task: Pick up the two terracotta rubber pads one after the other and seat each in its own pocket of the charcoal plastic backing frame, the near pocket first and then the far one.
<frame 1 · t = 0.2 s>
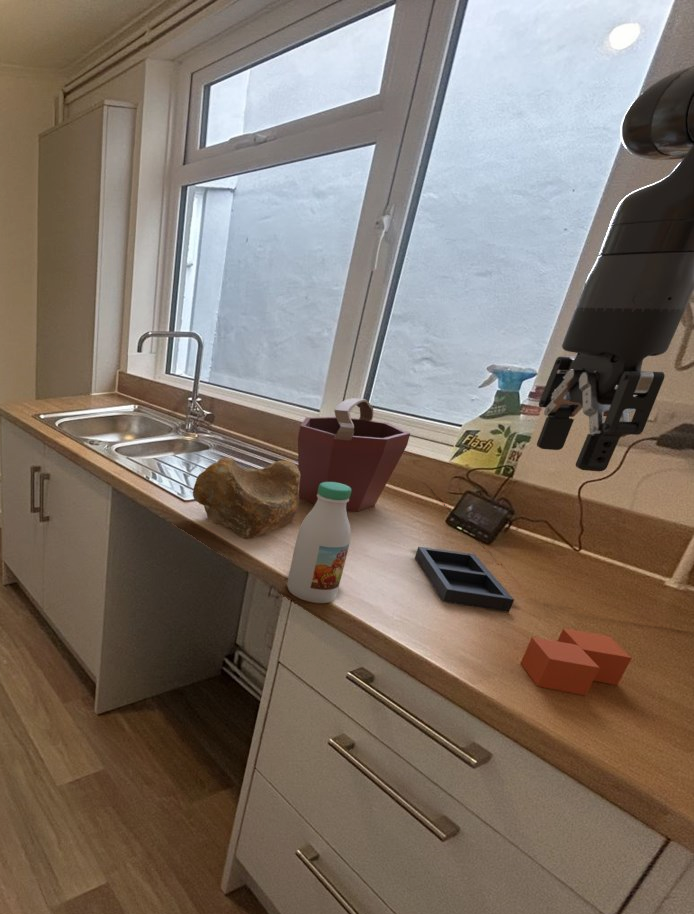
hand: (567, 458, 59), 32 cm above the worktop, tool pointing down, fingers open, 8 cm apart
rough brown rock: (247, 529, 117), on the worktop
bucket: (331, 498, 133), on the worktop
milk bottle: (310, 593, 92), on the worktop
pad a: (551, 678, 71), on the worktop
pad b: (582, 669, 73), on the worktop
backing frame: (457, 582, 95), on the worktop
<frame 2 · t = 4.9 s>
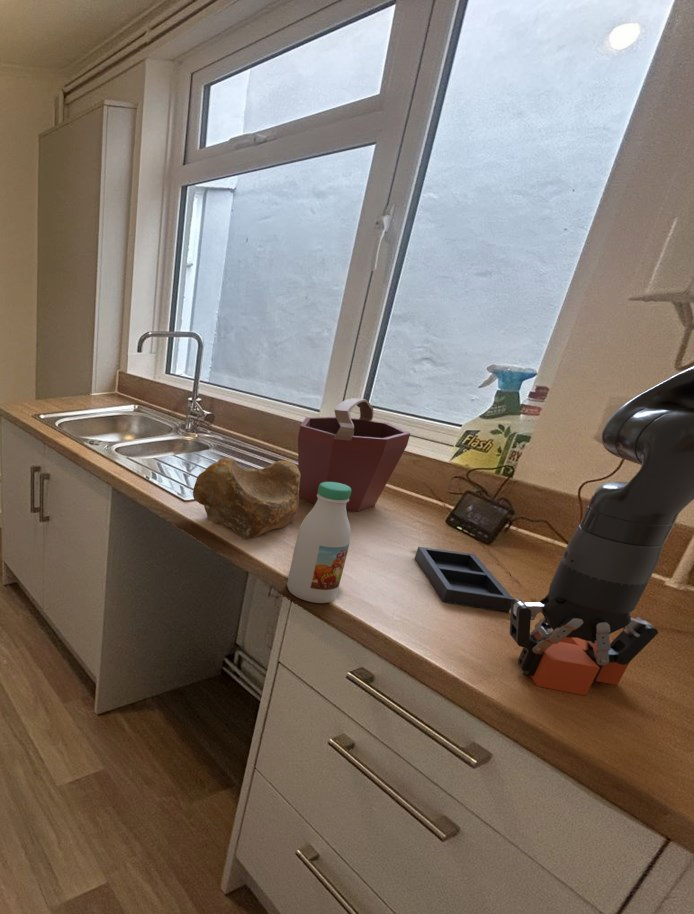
hand: (552, 676, 71), 0 cm above the worktop, tool pointing down, fingers closed on pad a, 5 cm apart
pad a: (551, 678, 71), on the worktop, touching gripper
everything else where it was.
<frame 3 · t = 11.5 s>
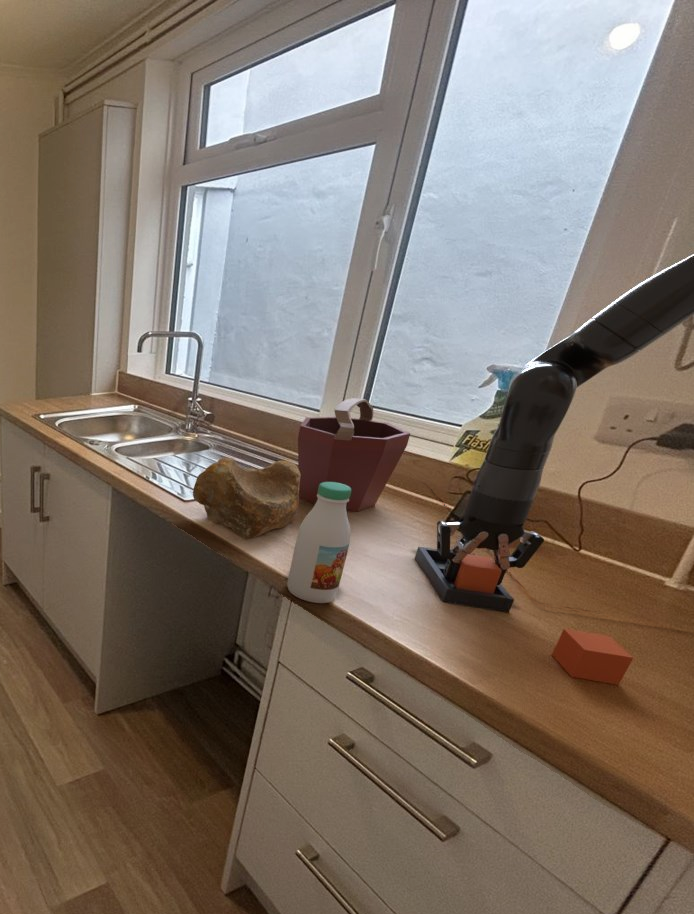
hand: (470, 582, 90), 2 cm above the worktop, tool pointing down, fingers closed on pad a, 5 cm apart
pad a: (469, 584, 91), point 2 cm above the worktop, touching gripper
everything else where it was.
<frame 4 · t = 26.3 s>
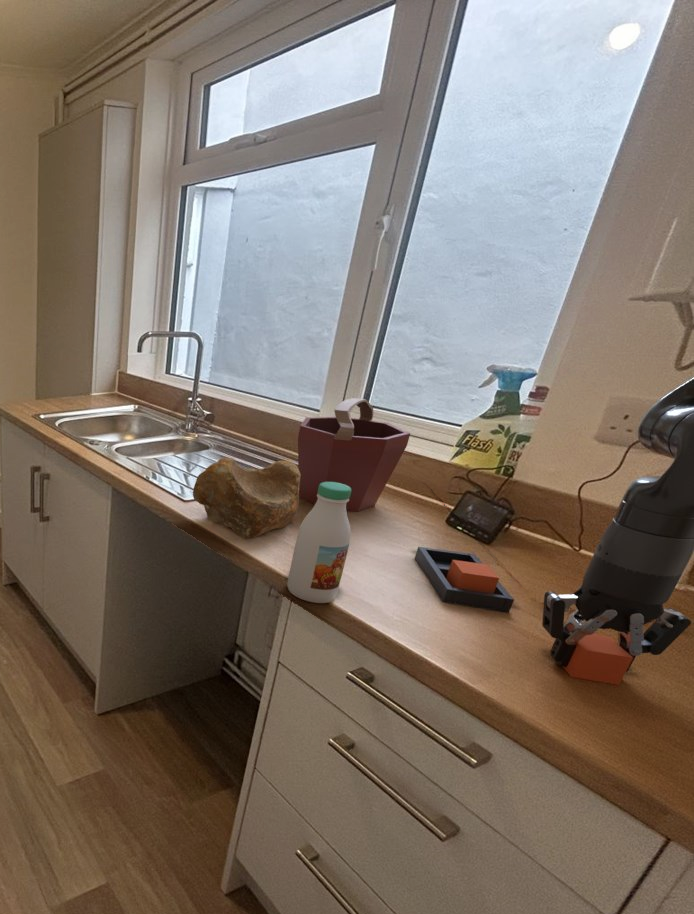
hand: (585, 667, 73), 0 cm above the worktop, tool pointing down, fingers closed on pad b, 5 cm apart
pad a: (466, 591, 91), resting on backing frame
pad b: (583, 669, 73), on the worktop, touching gripper
everything else where it was.
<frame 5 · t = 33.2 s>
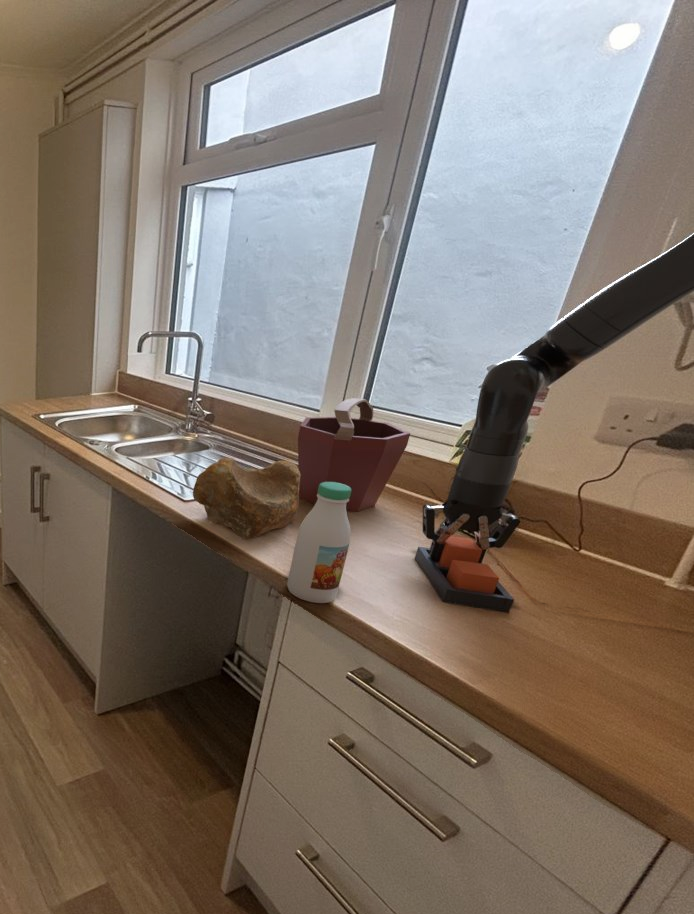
hand: (453, 561, 97), 2 cm above the worktop, tool pointing down, fingers closed on pad b, 5 cm apart
pad b: (452, 563, 97), point 2 cm above the worktop, touching gripper
everything else where it was.
when the fingers open (4 cm above the worktop, at t = 43.6 s): pad b drops 3 cm, resting on backing frame.
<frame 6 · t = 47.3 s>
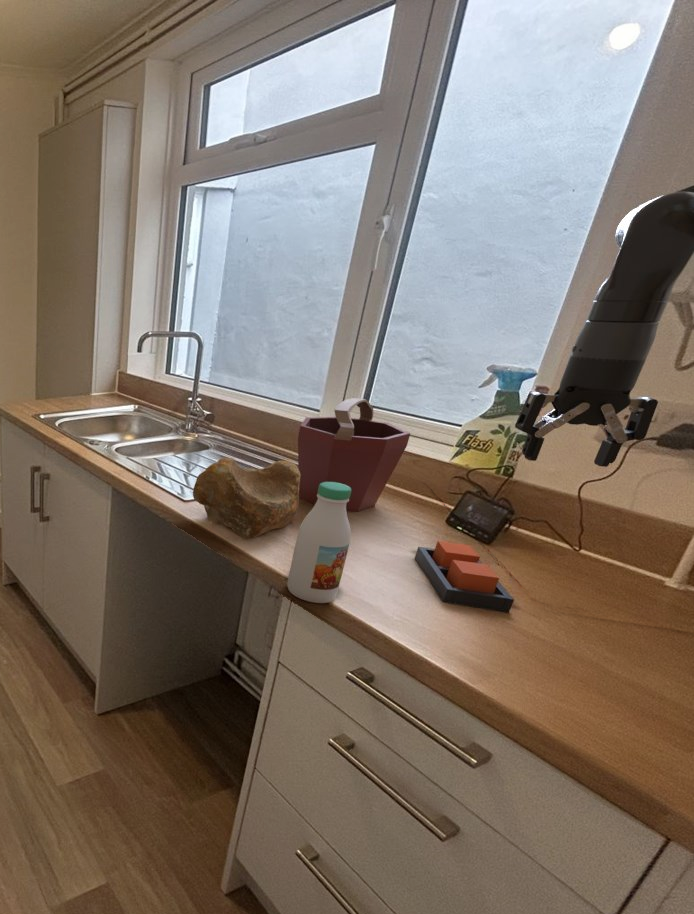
hand: (564, 462, 81), 24 cm above the worktop, tool pointing down, fingers open, 8 cm apart
pad b: (450, 570, 98), resting on backing frame
everything else where it was.
at the end: pad a 0.1 cm from the target spot in the backing frame, point 0.5 cm above the backing frame's base; pad b 0.0 cm from the target spot in the backing frame, point 0.5 cm above the backing frame's base; pad b tilted 0° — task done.
